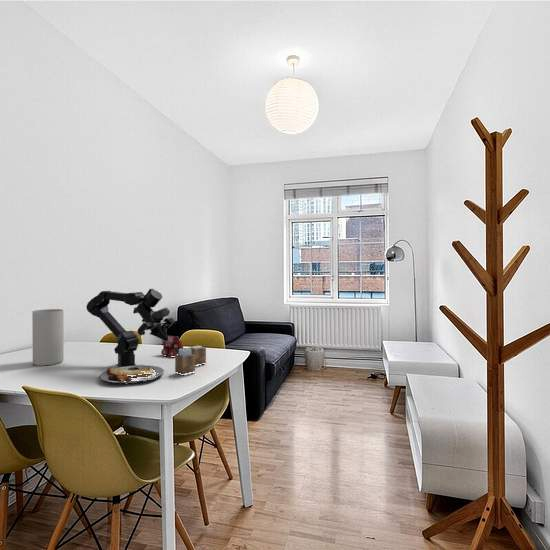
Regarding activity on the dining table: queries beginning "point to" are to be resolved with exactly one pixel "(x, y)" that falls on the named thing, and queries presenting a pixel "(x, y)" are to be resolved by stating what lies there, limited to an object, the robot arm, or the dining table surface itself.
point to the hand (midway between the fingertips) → (167, 340)
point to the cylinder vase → (47, 337)
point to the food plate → (129, 373)
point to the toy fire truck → (172, 346)
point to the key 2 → (184, 352)
